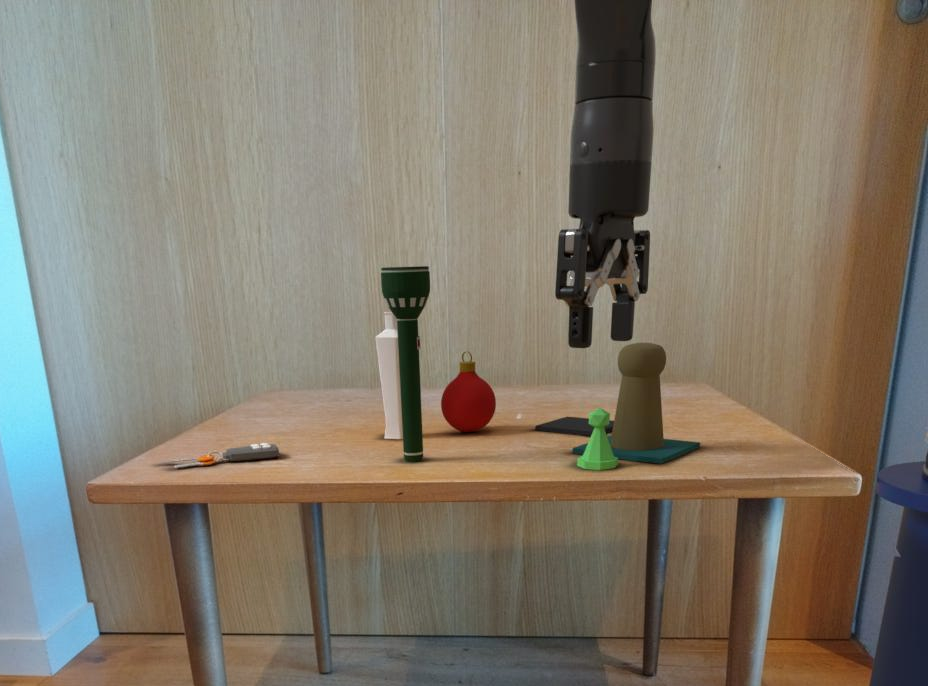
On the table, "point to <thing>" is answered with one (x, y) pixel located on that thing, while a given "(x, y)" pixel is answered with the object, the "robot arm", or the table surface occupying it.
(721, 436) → the table surface
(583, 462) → the game piece
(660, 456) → the teal pad
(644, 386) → the cork
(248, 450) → the key chain
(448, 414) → the christmas ornament
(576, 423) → the charcoal pad
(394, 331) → the perfume bottle
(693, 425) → the table surface
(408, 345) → the flashlight
